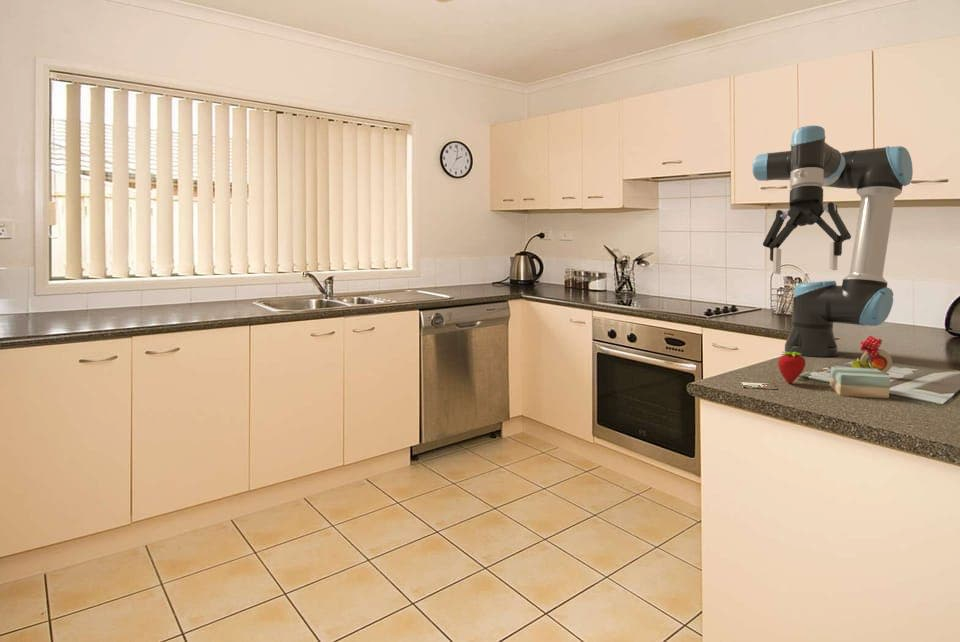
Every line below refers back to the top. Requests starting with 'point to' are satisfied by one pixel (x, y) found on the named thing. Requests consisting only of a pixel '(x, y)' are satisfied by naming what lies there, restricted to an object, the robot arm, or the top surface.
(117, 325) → the top surface
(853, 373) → the base brick
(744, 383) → the page
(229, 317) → the top surface
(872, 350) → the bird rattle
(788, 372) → the strawberry
